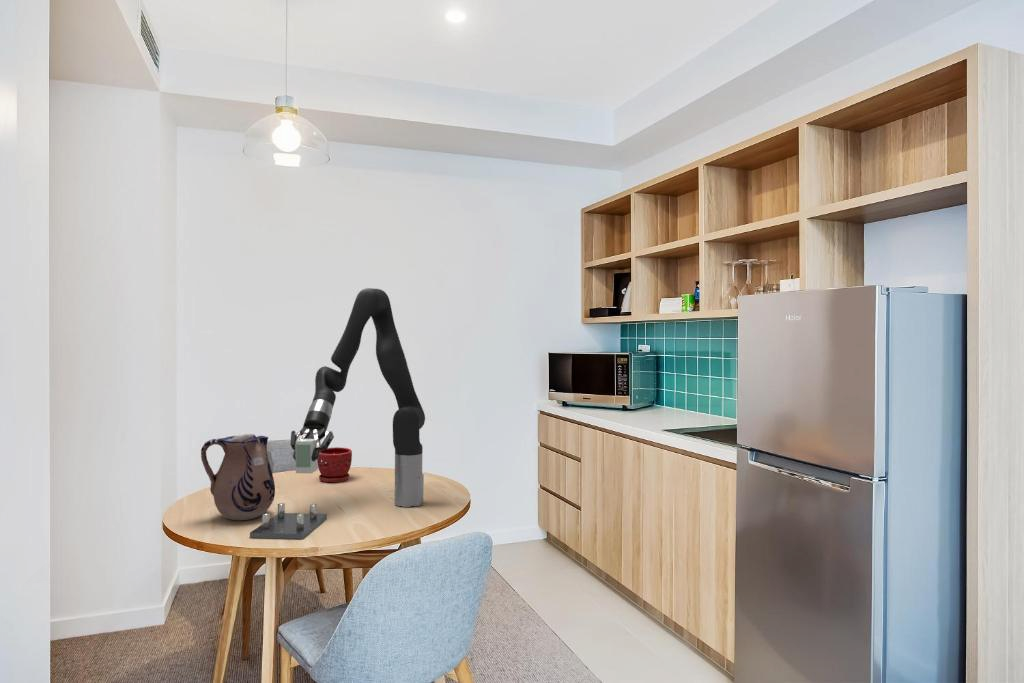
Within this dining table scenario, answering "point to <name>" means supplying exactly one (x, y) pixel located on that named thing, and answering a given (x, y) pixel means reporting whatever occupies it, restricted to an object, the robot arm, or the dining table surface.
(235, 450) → the ceramic pitcher
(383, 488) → the dining table surface
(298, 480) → the dining table surface
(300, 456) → the block
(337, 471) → the plant pot
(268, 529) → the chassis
